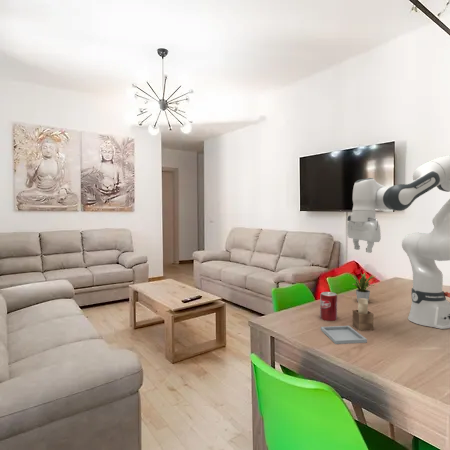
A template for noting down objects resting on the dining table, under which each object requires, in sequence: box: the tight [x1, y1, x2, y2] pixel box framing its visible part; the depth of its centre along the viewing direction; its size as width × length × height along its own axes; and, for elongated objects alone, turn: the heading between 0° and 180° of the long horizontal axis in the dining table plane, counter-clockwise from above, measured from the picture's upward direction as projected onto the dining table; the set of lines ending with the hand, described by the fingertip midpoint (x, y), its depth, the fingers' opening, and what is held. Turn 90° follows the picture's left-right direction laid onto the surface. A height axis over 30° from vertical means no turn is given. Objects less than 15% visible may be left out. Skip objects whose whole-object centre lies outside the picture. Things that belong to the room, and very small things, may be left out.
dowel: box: [357, 298, 369, 314], centre depth 132 cm, size 4×4×12 cm
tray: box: [320, 325, 368, 345], centre depth 124 cm, size 12×14×2 cm
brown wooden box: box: [351, 309, 374, 332], centre depth 132 cm, size 6×6×8 cm
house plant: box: [351, 271, 375, 302], centre depth 170 cm, size 14×14×16 cm
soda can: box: [319, 291, 338, 322], centre depth 144 cm, size 7×7×12 cm
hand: (362, 250), depth 133 cm, fingers open, 8 cm apart
